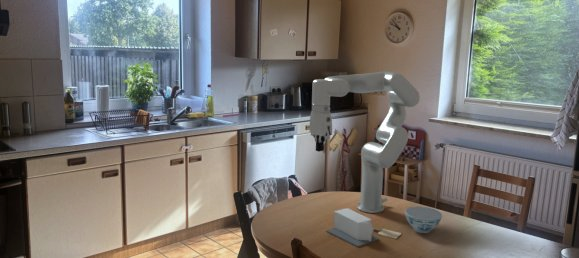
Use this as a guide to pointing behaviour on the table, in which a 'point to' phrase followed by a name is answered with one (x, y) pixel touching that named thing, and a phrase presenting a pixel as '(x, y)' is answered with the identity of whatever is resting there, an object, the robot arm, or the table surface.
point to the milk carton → (353, 224)
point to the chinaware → (423, 218)
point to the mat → (350, 238)
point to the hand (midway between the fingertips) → (319, 150)
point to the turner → (387, 233)
